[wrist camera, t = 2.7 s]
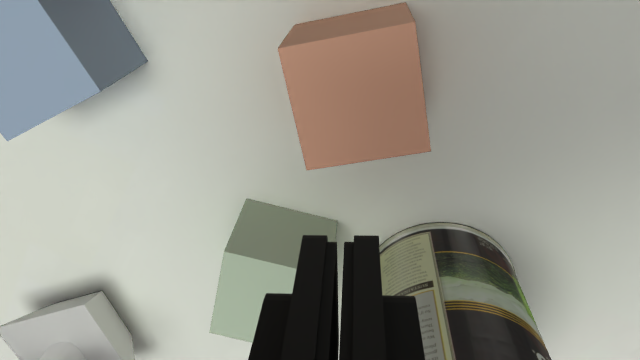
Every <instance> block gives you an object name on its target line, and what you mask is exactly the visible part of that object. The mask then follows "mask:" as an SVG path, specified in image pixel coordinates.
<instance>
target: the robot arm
mask: <svg viewBox="0 0 640 360" xmlns="http://www.w3.org/2000/svg"><path fill="white" fill-rule="evenodd" d="M338 347H339V328H338V273H337V242H328V237H327V235H303V237H302V242H301V247H300V253H299V258H298V264H297V270H296V275H295V281H294V286H293V292H292V294H284V293H266V295H265V297H264V300H263V304H262V308H261V312H260V316H259V320H258V324H257V327H256V331H255V335H254V339H253V343H252V347H251V351H250V355H249V359H248V360H338ZM339 360H425V355H424V348H423V342H422V335H421V329H420V322H419V316H418V310H417V303H416V298H415V296H391V295H382V281H381V266H380V250H379V236H354V242H344V262H343V285H342V308H341V331H340V354H339Z"/></svg>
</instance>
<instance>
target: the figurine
mask: <svg viewBox="0 0 640 360" xmlns="http://www.w3.org/2000/svg"><path fill="white" fill-rule="evenodd" d="M0 336H1V337H2V338H3V340H4V341H5V342H6V343H7V345H8V346H9V347H10V348H11V350H12V351H13V352H14V353H15V355H16V356H17V357H18V358H19V360H135V357H134V350H133V343H132V336H131V333H130V332H129V330H128V329H127V327H126V326H125V324H124V323H123V321H122V320H121V318H120V317H119V315H118V314H117V312H116V311H115V309H114V308H113V306H112V305H111V303H110V302H109V300H108V299H107V297H106V296H105V294H104V293H103V291H100V292H96V293H92V294H89V295H85V296H81V297H78V298H74V299H70V300H66V301H63V302H59V303H55V304H52V305H50V306H47V307H45V308H43V309H40V310H38V311H35V312H33V313H30V314H28V315H26V316H23V317H21V318H18V319H16V320H14V321H11V322H9V323H6V324H4V325H1V326H0Z"/></svg>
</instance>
